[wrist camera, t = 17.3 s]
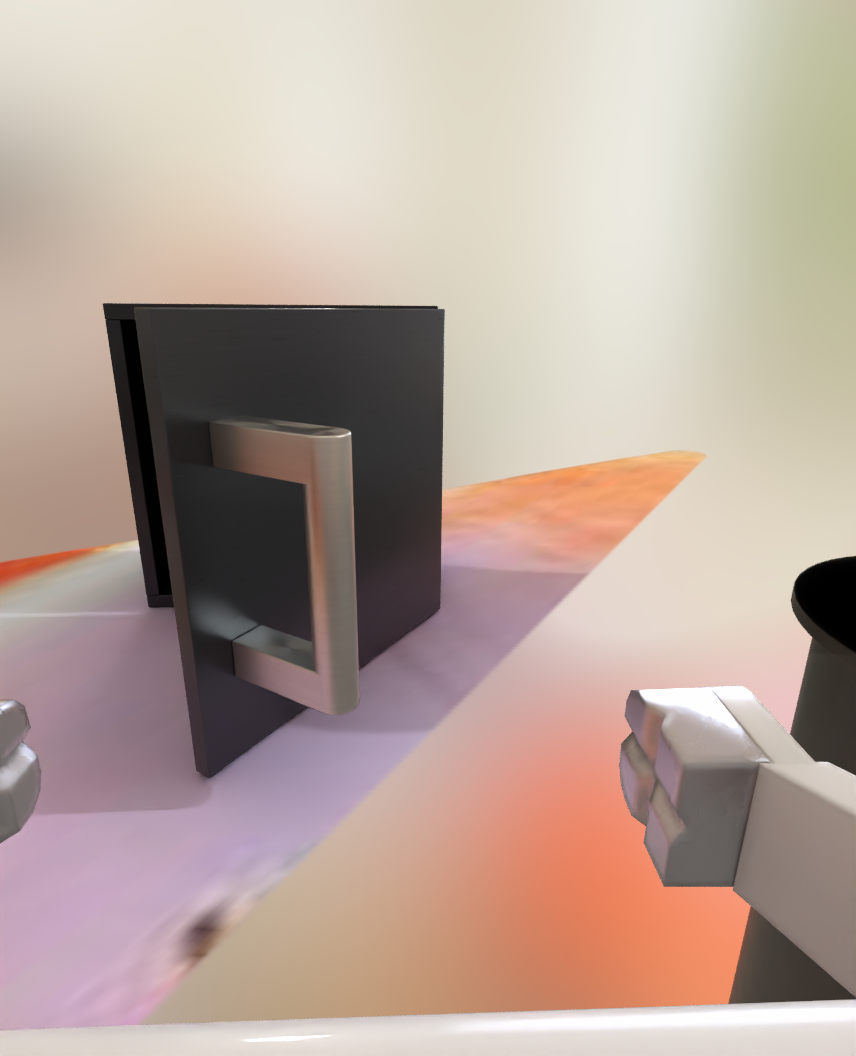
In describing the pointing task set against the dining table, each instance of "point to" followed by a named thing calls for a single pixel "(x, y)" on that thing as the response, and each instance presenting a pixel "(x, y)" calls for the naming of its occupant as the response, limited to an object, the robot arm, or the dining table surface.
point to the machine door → (292, 502)
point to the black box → (139, 435)
